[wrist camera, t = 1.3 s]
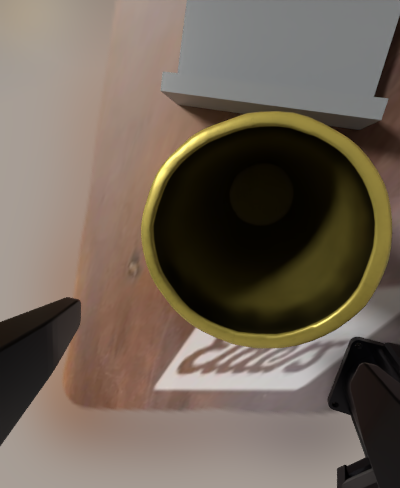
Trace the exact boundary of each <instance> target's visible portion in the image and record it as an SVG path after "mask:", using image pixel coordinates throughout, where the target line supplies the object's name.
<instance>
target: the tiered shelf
mask: <svg viewBox="0 0 400 488" xmlns="http://www.w3.org/2000/svg"><path fill="white" fill-rule="evenodd" d="M399 16H400V0H187V3H186V11H185V19H184V27H183V35H182V43H181V51H180V58H179V66H178V73H170V72H163V74H162V83H161V92H163V93H164V94H165V95H166V96H168V97H169V98H170V99H171V100H173V101H174V102H175V103H176V104H178V105H184V106H191V107H199V108H206V109H213V110H220V111H227V112H234V113H241V114H246V113H254V112H266V111H281V112H294V113H297V114H301V115H304V116H308V117H310V118H313V119H315V120H317V121H319V122H321V123H324V124H325V125H327V126H334V127H341V128H348V129H356V130H361V129H363V128H365V127H367V126H369V125H372V124H374V123H376V122H378V121H380V120H381V119H382V116H383V113H384V110H385V107H386V104H387V101H388V98H380V97H374V95H375V92H376V88H377V85H378V82H379V79H380V76H381V73H382V69H383V66H384V63H385V60H386V57H387V54H388V51H389V47H390V44H391V41H392V38H393V35H394V32H395V29H396V25H397V22H398V19H399Z"/></svg>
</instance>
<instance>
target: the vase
mask: <svg viewBox="0 0 400 488" xmlns="http://www.w3.org/2000/svg"><path fill="white" fill-rule="evenodd" d="M141 239H142V246H143V252H144V256H145V260H146V264H147V267H148V269H149V272H150V275H151V277H152V279H153V281H154V282H155V284H156V286H157V288H158V289H159V290H160V292H161V293H162V294H163V296H164V297H165V298H166V300H167V301H168V302H169V304H170V305H171V306H172V308H173V309H174V310H175V311H176V312H178V313H179V314H180V315H181V316H182V317H183V318H184V319H185V320H186V321H188V322H189V323H190V324H191V325H193V326H195V327H196V328H198V329H200V330H201V331H203V332H205V333H207V334H209V335H211V336H214V337H216V338H218V339H221V340H224V341H226V342H229V343H231V344H235V345H241V346H246V347H252V348H284V347H291V346H297V345H300V344H304V343H307V342H310V341H313V340H315V339H318V338H320V337H322V336H325V335H327V334H328V333H330V332H332V331H334V330H336V329H338V328H339V327H340V326H342V325H343V324H345V323H346V322H347V321H349V320H350V319H351V318H352V317H354V316H355V315H356V314H357V313H358V312H359V311H360V310H361V309H363V308H364V307H365V306H366V304H367V303H368V301H369V300H370V298H371V297H372V296H373V294H374V292H375V290H376V288H377V286H378V285H379V283H380V280H381V278H382V276H383V274H384V272H385V269H386V266H387V264H388V261H389V256H390V250H391V240H392V216H391V206H390V201H389V197H388V193H387V190H386V187H385V184H384V182H383V180H382V178H381V176H380V174H379V173H378V171H377V169H376V168H375V166H374V165H373V163H372V162H371V161H370V159H369V158H368V157H367V155H366V154H365V153H364V152H363V151H362V150H361V149H360V147H359V146H358V145H356V144H355V143H354V142H353V141H352V140H350V139H349V138H348V137H346V136H345V135H343V134H341V133H339V132H338V131H336V130H334V129H333V128H331V127H329V126H327V125H325V124H324V123H321V122H319V121H317V120H315V119H313V118H310V117H308V116H304V115H301V114H297V113H294V112H281V111H266V112H254V113H246V114H243V115H240V116H238V117H235V118H232V119H229V120H226V121H224V122H221V123H218V124H215V125H213V126H210V127H208V128H205V129H203V130H201V131H200V132H198V133H196V134H195V135H193V136H191V137H190V138H189V139H188V140H187V141H186V142H185V143H184V144H183V145H181V146H180V147H179V148H178V149H177V150H176V151H175V152H174V153H173V154H172V155H171V156H170V157H169V158H168V159H167V160H166V161H165V163H164V164H163V165H162V166H161V168H160V169H159V171H158V173H157V174H156V176H155V179H154V181H153V183H152V186H151V189H150V192H149V195H148V199H147V202H146V205H145V208H144V212H143V217H142V223H141Z"/></svg>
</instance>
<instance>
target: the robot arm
mask: <svg viewBox="0 0 400 488" xmlns="http://www.w3.org/2000/svg"><path fill="white" fill-rule="evenodd" d="M80 320H81V302H80V300H78V299H74V298H70V297H66V298H63V299H61V300H58V301H55V302H53V303H50V304H47V305H45V306H42V307H39V308H37V309H34V310H31V311H29V312H26V313H23V314H20V315H18V316H15V317H13V318H10V319H7V320H4V321H2V322H0V446H1V444H2V443H3V442H4V440H5V439H6V437H7V436H8V435H9V433H10V432H11V430H12V429H13V427H14V426H15V425H16V423H17V422H18V421H19V419H20V418H21V416H22V415H23V413H24V412H25V411H26V409H27V408H28V406H29V405H30V404H31V402H32V401H33V400H34V398H35V397H36V395H37V394H38V392H39V391H40V390H41V388H42V387H43V386H44V384H45V383H46V381H47V380H48V379H49V377H50V376H51V374H52V373H53V371H54V370H55V368H56V366H57V365H58V363H59V361H60V359H61V358H62V356H63V354H64V352H65V351H66V349H67V347H68V345H69V343H70V342H71V340H72V338H73V336H74V335H75V333H76V331H77V329H78V328H79V325H80ZM357 343H361V344H360V345H359V346H355V345H356V344H357ZM333 402H337V403H333ZM328 404H329V407H330V408H331V409H333V410H336V411H339V412H343V413H346V414H349V415H351V417H352V421H353V423H354V426H355V429H356V432H357V434H358V437H359V440H360V443H361V445H362V448H363V451H364V454H365V457H366V458H363V459H361V460H359V461H357V462H355V463H353V464H351V465H349V466H346V465H343V466H341V467H339V468H338V469H337V488H400V346H399V345H396V344H392V343H385V344H384V343H380V342H376V341H372V340H368V339H364V338H361V337H354V338H352V339H351V340H350V342H349V345H348V347H347V350H346V352H345V355H344V358H343V360H342V363H341V365H340V368H339V371H338V373H337V376H336V378H335V381H334V384H333V386H332V389H331V392H330V394H329V397H328Z"/></svg>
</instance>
